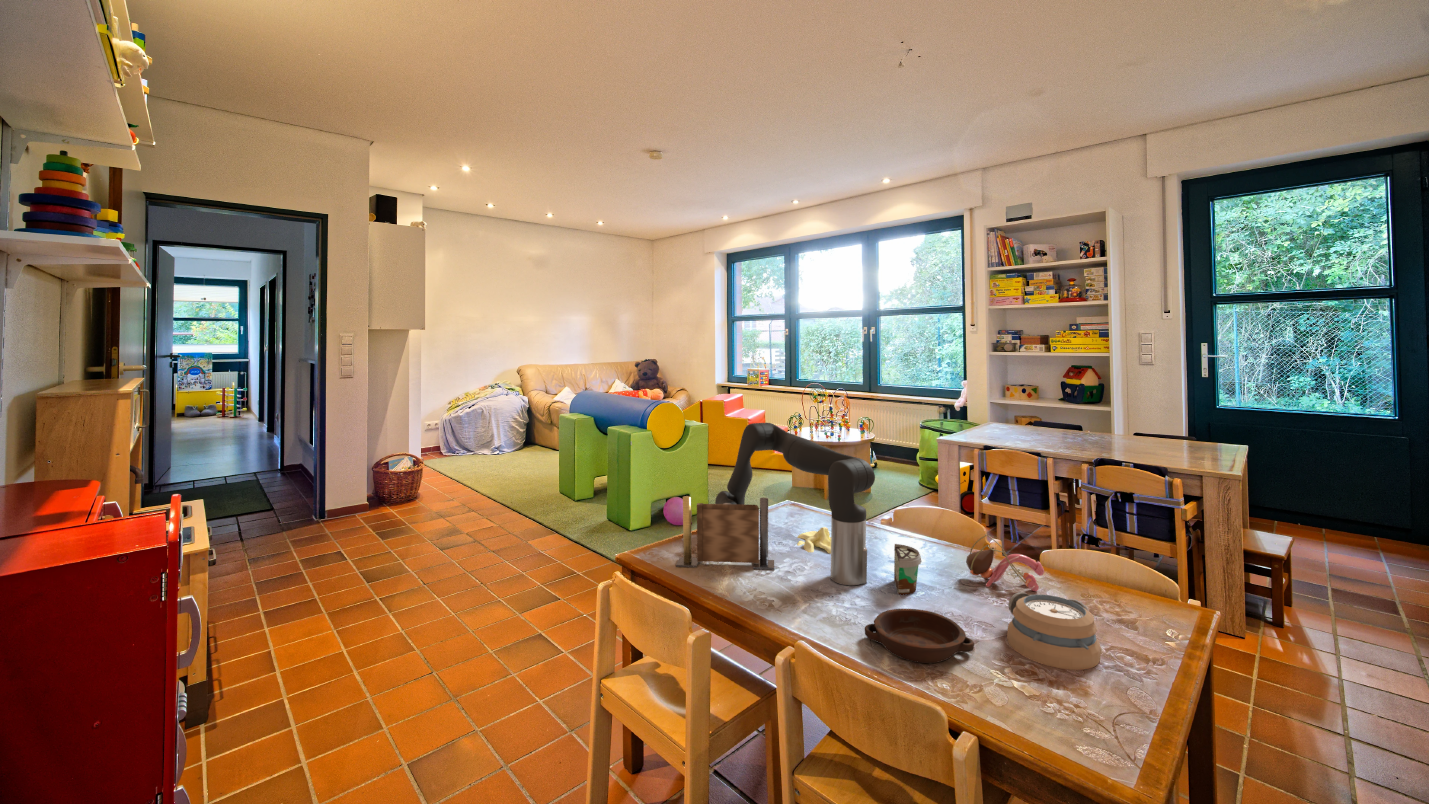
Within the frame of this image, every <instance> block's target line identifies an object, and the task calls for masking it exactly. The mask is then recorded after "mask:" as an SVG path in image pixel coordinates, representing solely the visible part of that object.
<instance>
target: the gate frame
mask: <svg viewBox="0 0 1429 804" xmlns="http://www.w3.org/2000/svg"><path fill="white" fill-rule="evenodd" d="M682 530H683V531H682V533H683V534H682V535H683V536H682V537H683V538H682V540H683V542H682V543H683V548H682V549H683V556H681V557H678V559H677V561H676V564H675V567H676V568H697V567H698V565H699V562H697V557H692V556H693V555H692V548H693V547H692V541H693V540H692V496H691V495H686V496H685V495H684V496H682ZM752 567H753V570H765V571H766V570H767V571H768V570H769V571H771V570H772V571H773V570H774V571H775V559H769V498H768V497H759V563H753V566H752Z"/></svg>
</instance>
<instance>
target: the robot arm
mask: <svg viewBox="0 0 1429 804" xmlns="http://www.w3.org/2000/svg"><path fill="white" fill-rule="evenodd" d="M741 435H742V436H741V441H740V442H739V443H740V444H739V449H738V452H737V453H738V454H737V457H736V462H735V464H734V465H735V466H734V468H733V470H732V473H731V475H730V478H729V480H728V483H727V485H726V488H727V490H721V491H720V492H719V493H718V494H717V495H716V497H715V500H714V501H715V503H714V504H744V505H746V504H745V503H746V502H745V498H746V494H747V491H748V489H749V486H750V485H751V482H752V479H753V468H752V465H751V459H752V456H753V455H754V454H755V452H760V451H761V452H762V451H774V452H778V453H781V454H782V456H783V459H784V460H785V462H786V463H787V464H788V465H789V466H792V467H793V468H795V469H798V470H799V471H802V472H806V473H808V474H809V473H810V474H814V475H823V476H827V480H828V481H827V488H828V491H827V492H828V504H829V508H830V513H831V514H830V515H831V518H830V519H831V521H830V522H831V523H830V524H831V525H830V527H831V528H830V529H831V530H830V535H831V536H830V537H831V554H830V580H831V581H832V582H835V583H836V584H840V585H843V586H859V585H862V584H867V582H868V581H867V580H868V579H867V577H868V575H867V573H868V548H867V545H866V541H867V510H866V508H865V507H864V506H862V505H859V504H858V503H857V504H856V503H855V494H857V493H862V492H863V493H864V492H865V491H867V490H869V489H870V488H872V487H873V485H874V483H875V481H876V480H875V479H876V475H875V472H874V468H873V467H872V466H871V464H870V463H869V462H868V461H866V460H864V459H863V458H860V457H857V456H852V455H849V454H848V455H847V454H843V453H841V452H838V451H835V450H833V449H831V448H828V447H827V446H823V445H821V444H819V443H817V442H814V441H812V440H809V439H807V438H804V437H801V436H799V435H796V434H793V433H790V432H788V431H786V430H784V429H782V428H781V427H779V426H777V425H776V424H774V423H773V422H772V423H771V422H755V423H754V422H752V423H749V424H747V425H746V426H745V427H744V429H743V432H742V434H741Z"/></svg>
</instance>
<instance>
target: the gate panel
mask: <svg viewBox="0 0 1429 804" xmlns="http://www.w3.org/2000/svg"><path fill="white" fill-rule="evenodd" d="M696 547H697V548H696V551H697V552H696V558H697V562H698V563H699V562H701V563H703V562H709V563H711V562H712V563H713V562H714V563H718V562H719V563H740V564H741V563H745V564H746V563H749V564H750V563H751V564H754V563H759V560H760V507H759V505H758V504H715V503H703V502H700V503H699V502H698V503H696Z"/></svg>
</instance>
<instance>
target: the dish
mask: <svg viewBox="0 0 1429 804" xmlns="http://www.w3.org/2000/svg"><path fill="white" fill-rule="evenodd" d="M864 635H865V636H866V638H868V639H869V640H871V641H874V642H877V643H878V644H881V645H883V646H884V647H885V649H886V650H887V651H889V652H890V653H891V654H893V655H895V656H896V657H898V658H901V659H903V660H906V661H910V662H915V663H921V664H933V663H934V664H935V663H940V662H943V661H946V660H948V659H950V658H951V657H953V656H954V655H955V654H957V653H970V652H972V651H973V650H974V649H975V648H974V647H975V641H974V640H973V639H972V638H970V637H967V636H966V632H965V630H964V629H963V628H962V627H961V625H959V624H958V623H957V622H956V621H955V620H953V619H951V618H948V617H946V616H944V615H942V614H940V613H937V612H934V611H930V610H924V609H920V608H919V609H917V608H893V609H887V610H884V611H882V612H880V613H879V614H878V615H876V617H875V618H874V620H873V623H870V624H867V625H865V627H864Z"/></svg>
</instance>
